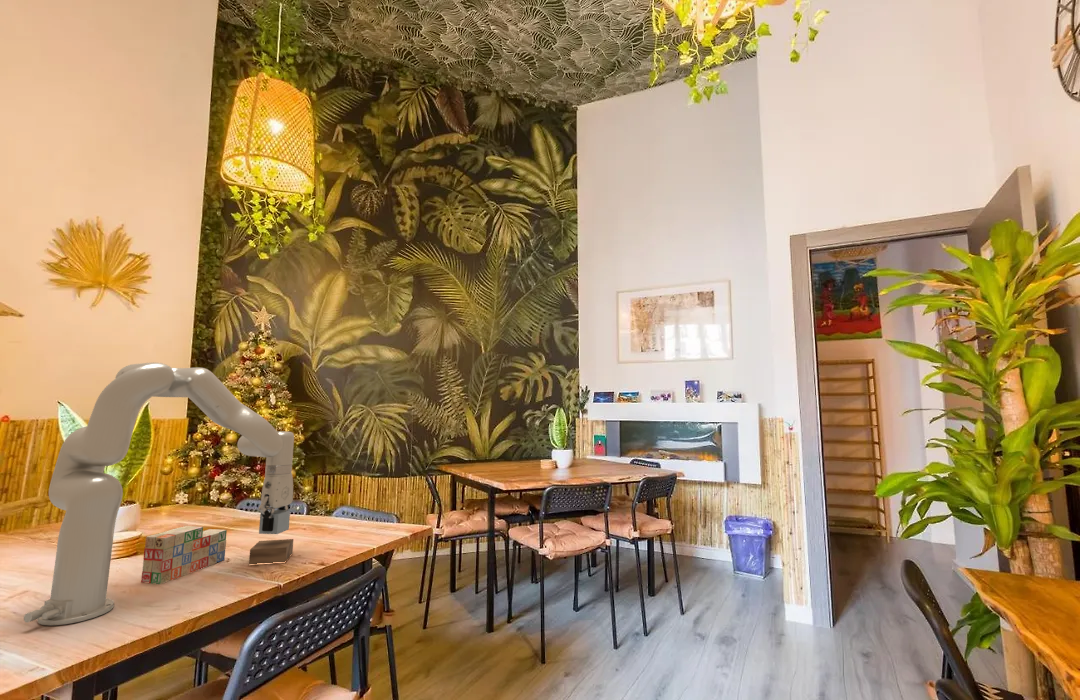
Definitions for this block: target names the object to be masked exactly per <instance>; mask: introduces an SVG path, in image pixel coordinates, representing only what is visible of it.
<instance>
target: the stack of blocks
mask: <svg viewBox="0 0 1080 700" xmlns="http://www.w3.org/2000/svg"><path fill="white" fill-rule="evenodd" d="M227 531H228V530H227V529H214V528H213V529H212V528H208V529H206V530H204V526H191V525H184V526H180V527H177V528H173V529H169V530H165V531H163V532H158V533H156V534H151V535H148V536H146V537H145V544H144V545H145V546H144V550H143V563H142V572H141V579H140V580H141V582H149V583H148V584H153V583H156V585H161V583H162V584H164V582H165V583H167V582H169V581H168V580H170V581H172V579H173V580H176V579H179V578H181V577H184V576H187V575H189V574H191V572H192V573H194V572H196V570H197V571H199V570H202V569H204V568H203V567H205V568H207V567H209V566H212V564H213V565H214V563H215V564H217V562H218V563H221V562H223V561H225V558H226V557H225V556H226V547H227V546H226V545H227ZM222 560H223V561H222ZM220 561H221V562H220ZM206 566H207V567H206ZM201 568H202V569H201ZM198 569H199V570H198ZM186 574H187V575H186ZM175 578H176V579H175ZM166 581H167V582H166ZM141 582H140V583H141Z"/></svg>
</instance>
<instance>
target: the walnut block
mask: <svg viewBox="0 0 1080 700" xmlns="http://www.w3.org/2000/svg"><path fill="white" fill-rule="evenodd" d="M293 550H294V538H290V539H289V538H285V539H271V540H269V539H268V540H259V541H258V542H256V544H254V545H253V547H251V548H250V549H249V556H248V557H249V559H248V565H249V564H257V563H273V562H285V561H286V560H287V559H288V558H289V556H290V555H291V554H292V555H293V553H294V552H293ZM292 555H291V556H292ZM289 559H290V558H289ZM289 559H288V560H289Z"/></svg>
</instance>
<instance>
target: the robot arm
mask: <svg viewBox="0 0 1080 700" xmlns="http://www.w3.org/2000/svg"><path fill="white" fill-rule="evenodd" d="M114 378H115V379H113V380H112V381H110V382H109V383H108V385H106V387H104V388H103V389H102V391H101V392H100V394H99V395H98V397H97V399H96V401H95V403H94V406H93V409H92V412H91V414H90V417H89V420H88V423H87V426H83V427H80V428H78V429H75V430H74V431H73V432H71V433H70V434H69V435H68V436H67V437H66V439H64V442H63V443H62V444H61V448H60V450H59V452H58V457H57V459H56V463H55V466H54V469H53V473H52V475H51V479H50V484H49V488H48V499H49V501H50V503H51V504H52V505H53V507H56V508H57V509H60V510H62V511H65V514H64V517H63V520H62V523H61V525H60V528H59V533H58V537H57V545H56V554H55V560H54V569H53V574H52V575H53V576H52V582H51V583H52V584H51V590H50V591H51V592H50V597H49V599H46V600H44V605H42V606H41V607H40V608H39V609H35V610H32V611H29V612H26V613H25V614H24V615H23V620H24V623H30V622H33V621H36V620H37V621H36V622H37V623H38V624H39V625H42V626H61V625H69V624H74V623H80V622H83V621H89V620H91V619H95V618H97V617H100V616H102V615H104V614H106V613H108V612H110V611H111V610H112V609H113V608H114V607H115V601H114V600H113V599H111V598H107V593H108V585H109V577H110V576H109V575H110V567H111V562H112V561H111V560H112V551H113V544H114V535H115V528H116V521H117V517H118V513H119V510H120V507H121V504H122V500H123V494H124V493H123V492H124V491H123V486H122V484H121V482H120V481H119V480H118V479H117V477H115V476H114V475H112V474H109V473H105V468H106V467H110V466H113V465H116V464H119V463H120V462H121V461H122V460H123V459H124V458H126V456H127V454H128V451H129V448H130V444H131V440H132V436H133V434H134V433H133V432H134V429H135V425H136V421H137V418H138V416H139V413H140V410H141V409H142V407H143V406H144V405H145V403H146V402H147V401H148V400H149V399H151V398H152V397H156V398H189V400H190V401H191V402H192V403H194V404H195V406H197V408H199V410H200V411H202V413H204V415H206V416H207V418H209V420H211V421H212V422H213V423H215V424H216V425H218V426H220V427H222V428H225V429H228V430H231V431H234V432H236V433H238V434H239V435H240V438H239V439H238V441H237V443H236V444H237V449H238V451H239V452H240V453H241V454H243V455H245V456H247V457H260V458H266V459H265V467H264V468H265V470H264V471H265V473H264V479H263V484H262V488H261V489H262V490H261V498H260V505H259V506H258V511H259V513H260V514H261V515H262V518H263V525H262V531H273V523H274V518H272V517H273V513H274V510H289V508H290V506H291V503H293V499H294V479H293V478H294V477H293V473H292V470H293V469H292V468H293V458H294V457H293V455H294V443H295V435H294V432H292V431H285V430H284V431H277V430H276V428H275V427H274V426H273V425H272V424H271V423H270V422H269V421H267V419H266V418H264V417H262V415H260V414H259V413H257V412H255V411H254V410H252V409H251V408H250V407H248V406H246V405H245V404H243V403H242V402H241V401H240V400H239V399H238V398H237V397H236V396H235V395H234V394H233V393H232V392H231V391H230V390H229V389H228V388H227V386H225V384H224V383H222V381H221V380H220V379H219V378H218V377H217V375H215V374H214V373H213V372H212V371H211V370H209V369H208V368H205V367H171V366H170V365H168V364H165V363H163V362H143V363H142V362H141V363H132V364H129V365H126V366H124V367H122V368H121V369H120V370H118V371H117V374H116V375H115V377H114ZM269 511H270V513H269Z"/></svg>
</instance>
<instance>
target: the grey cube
mask: <svg viewBox="0 0 1080 700" xmlns="http://www.w3.org/2000/svg"><path fill="white" fill-rule="evenodd" d="M268 511H269V513H270V510H268ZM259 515H260V516H259V526H258V527H259V528H258V534H261V535H279V534H281V533H284V532H287V531H288V530H290V519H291V517H290V515H291V510H290V509H288V510H278V509H275V510H274V513H273V517H272V518H274V523H273V531H262V525H263V518H262V515H261V513H260V514H259Z"/></svg>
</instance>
